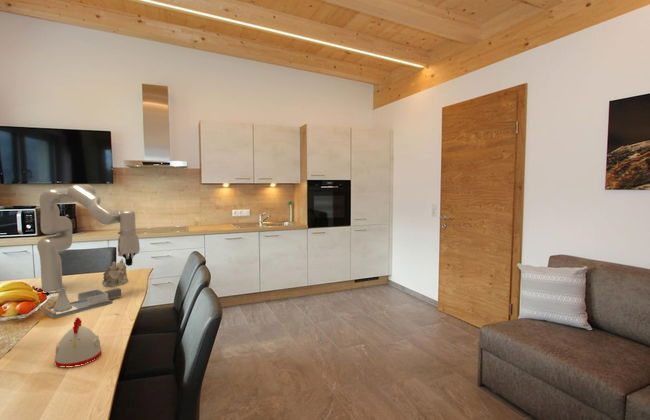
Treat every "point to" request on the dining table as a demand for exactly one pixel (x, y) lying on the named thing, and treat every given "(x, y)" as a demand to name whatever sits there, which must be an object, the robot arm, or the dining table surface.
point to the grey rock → (115, 275)
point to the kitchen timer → (77, 346)
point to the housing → (98, 296)
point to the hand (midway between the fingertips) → (129, 265)
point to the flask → (62, 301)
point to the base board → (73, 308)
